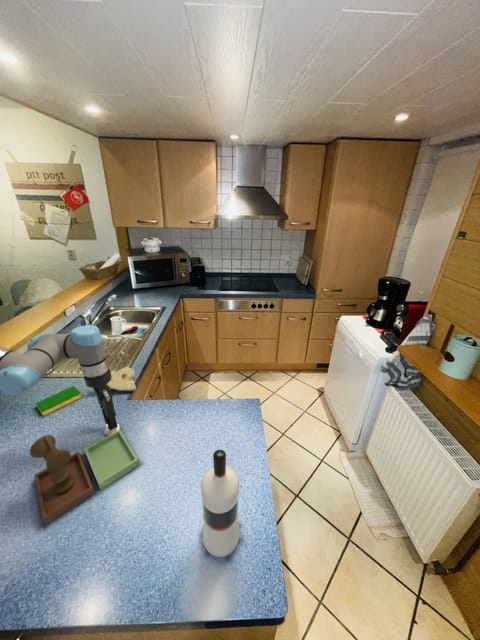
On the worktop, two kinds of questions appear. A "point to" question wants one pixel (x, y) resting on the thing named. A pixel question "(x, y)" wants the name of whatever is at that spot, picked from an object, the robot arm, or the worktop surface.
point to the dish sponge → (58, 400)
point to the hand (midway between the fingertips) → (111, 424)
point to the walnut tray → (63, 502)
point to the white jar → (111, 430)
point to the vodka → (220, 507)
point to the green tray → (111, 458)
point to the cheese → (123, 380)
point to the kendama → (54, 462)
